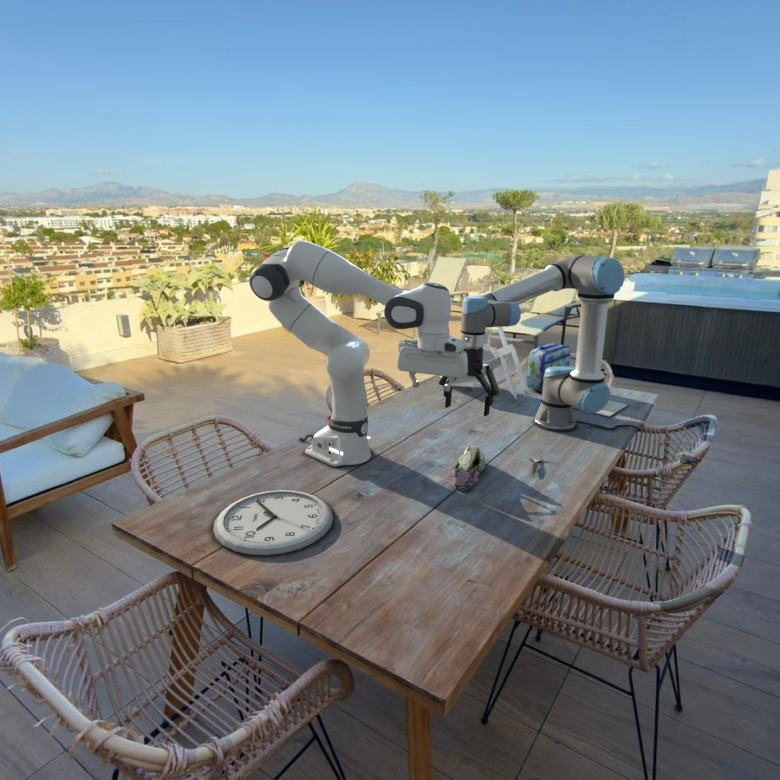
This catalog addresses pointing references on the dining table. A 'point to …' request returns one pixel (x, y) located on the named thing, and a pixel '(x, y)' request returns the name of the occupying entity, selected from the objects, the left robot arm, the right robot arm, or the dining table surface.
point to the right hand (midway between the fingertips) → (466, 410)
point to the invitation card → (611, 408)
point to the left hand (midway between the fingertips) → (431, 388)
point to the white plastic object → (496, 359)
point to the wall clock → (273, 522)
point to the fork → (536, 461)
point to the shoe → (468, 468)
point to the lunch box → (545, 363)
